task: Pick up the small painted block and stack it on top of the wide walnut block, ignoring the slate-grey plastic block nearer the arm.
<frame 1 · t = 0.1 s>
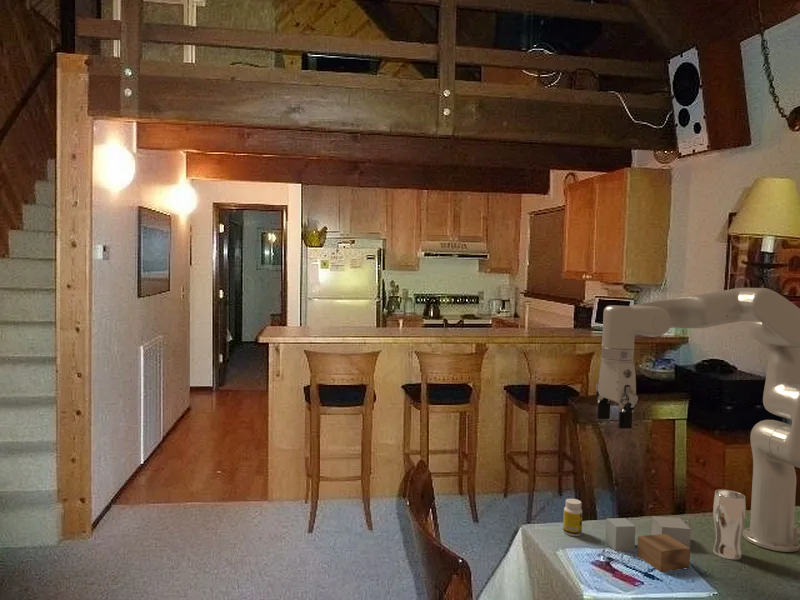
hand: (613, 423, 144), 31 cm above the table, fingers open, 9 cm apart
walnut block: (662, 563, 137), on the table
grey block: (670, 541, 150), on the table
beer glass: (727, 554, 143), on the table
supplement bottle: (572, 533, 152), on the table
painted block: (619, 545, 146), on the table
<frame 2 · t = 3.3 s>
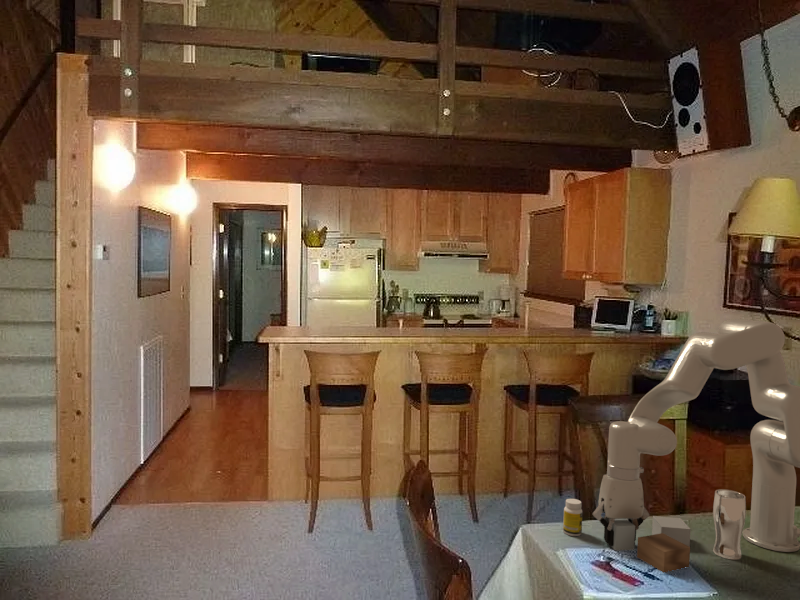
hand: (619, 542, 146), 1 cm above the table, fingers closed on painted block, 5 cm apart
painted block: (619, 545, 146), on the table, touching gripper
everything else where it was.
when the fingers open (7 cm above the table, at t = 7.2 s): painted block drops 1 cm, resting on walnut block.
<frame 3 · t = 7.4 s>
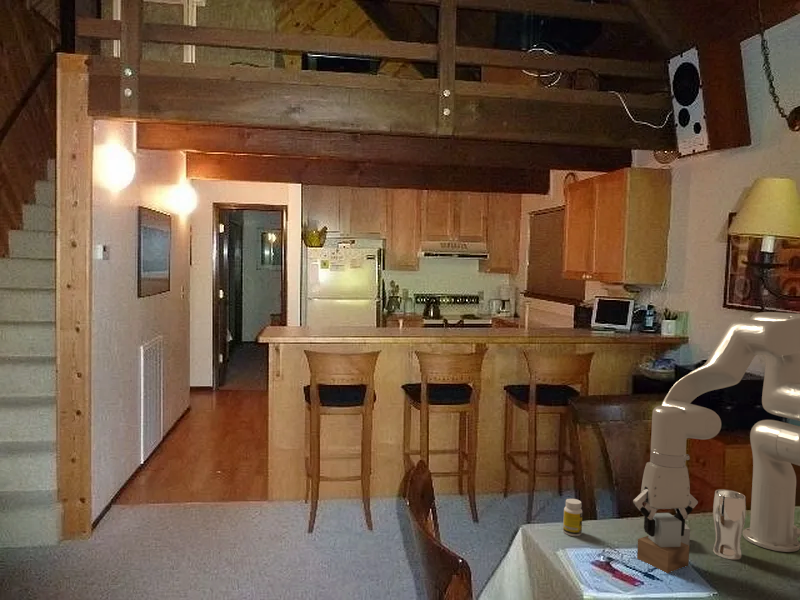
hand: (664, 533, 137), 7 cm above the table, fingers open, 6 cm apart
walnut block: (662, 563, 137), on the table, touching painted block
painted block: (664, 542, 137), point 5 cm above the table, touching walnut block
everything else where it was.
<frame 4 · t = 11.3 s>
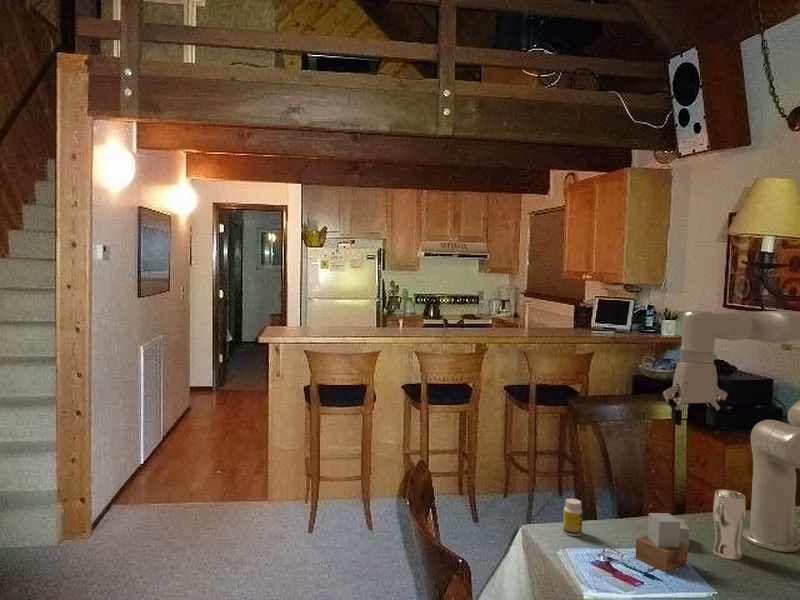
hand: (693, 424, 149), 30 cm above the table, fingers open, 9 cm apart
nothing on the table moved.
at the end: painted block 0.2 cm off-centre on the walnut block, point 5.0 cm above the walnut block's base; painted block tilted 1°; the gripper is holding nothing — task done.
